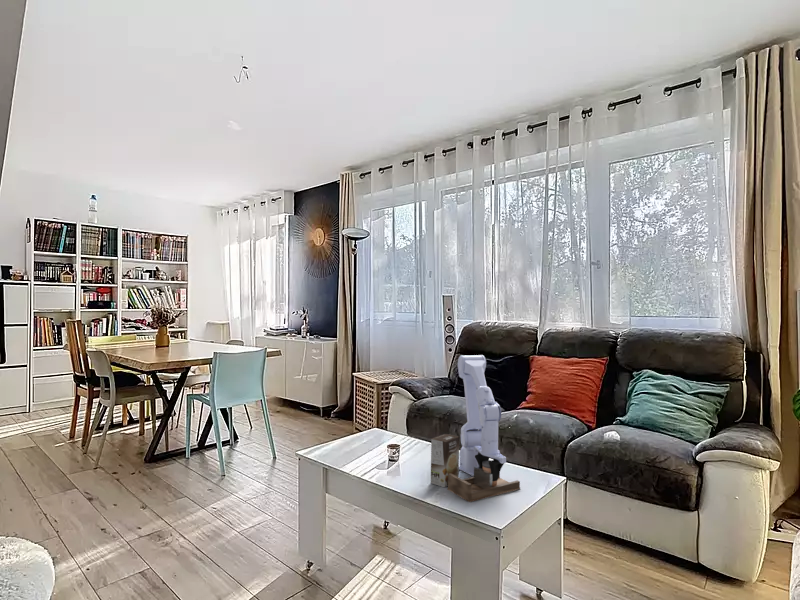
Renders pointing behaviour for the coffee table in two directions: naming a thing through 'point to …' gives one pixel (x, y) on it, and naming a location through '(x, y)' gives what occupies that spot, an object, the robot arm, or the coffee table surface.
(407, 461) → the coffee table surface
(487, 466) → the jar
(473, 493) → the pusher lane
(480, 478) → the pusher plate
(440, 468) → the coffee box
